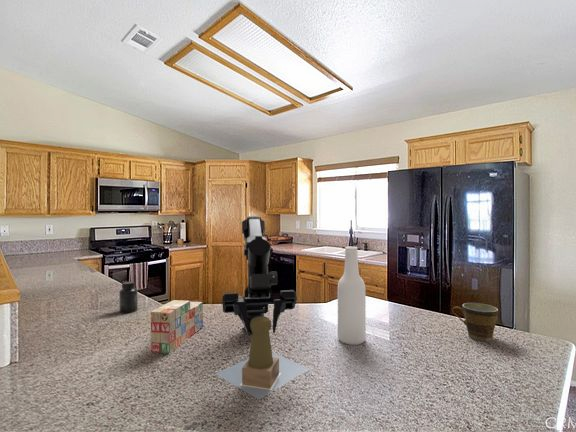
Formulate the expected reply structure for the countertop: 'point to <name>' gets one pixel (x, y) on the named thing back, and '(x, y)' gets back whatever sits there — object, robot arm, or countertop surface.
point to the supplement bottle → (128, 298)
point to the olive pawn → (260, 343)
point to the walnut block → (260, 375)
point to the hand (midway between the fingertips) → (261, 333)
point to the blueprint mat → (286, 374)
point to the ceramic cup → (479, 320)
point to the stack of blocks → (174, 324)
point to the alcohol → (351, 301)
